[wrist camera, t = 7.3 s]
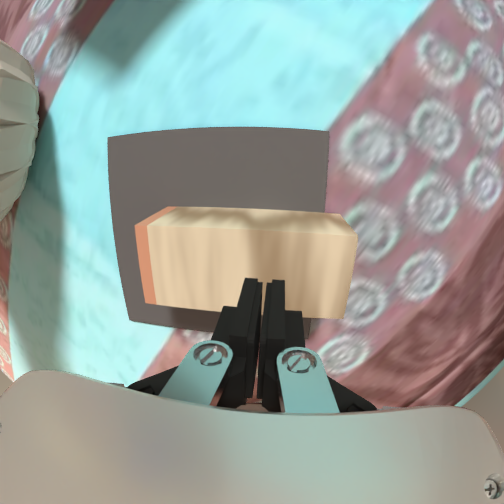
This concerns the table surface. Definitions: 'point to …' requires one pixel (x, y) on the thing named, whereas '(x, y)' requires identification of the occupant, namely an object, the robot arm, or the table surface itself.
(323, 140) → the mat
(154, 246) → the tall block
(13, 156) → the vase
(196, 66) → the table surface
